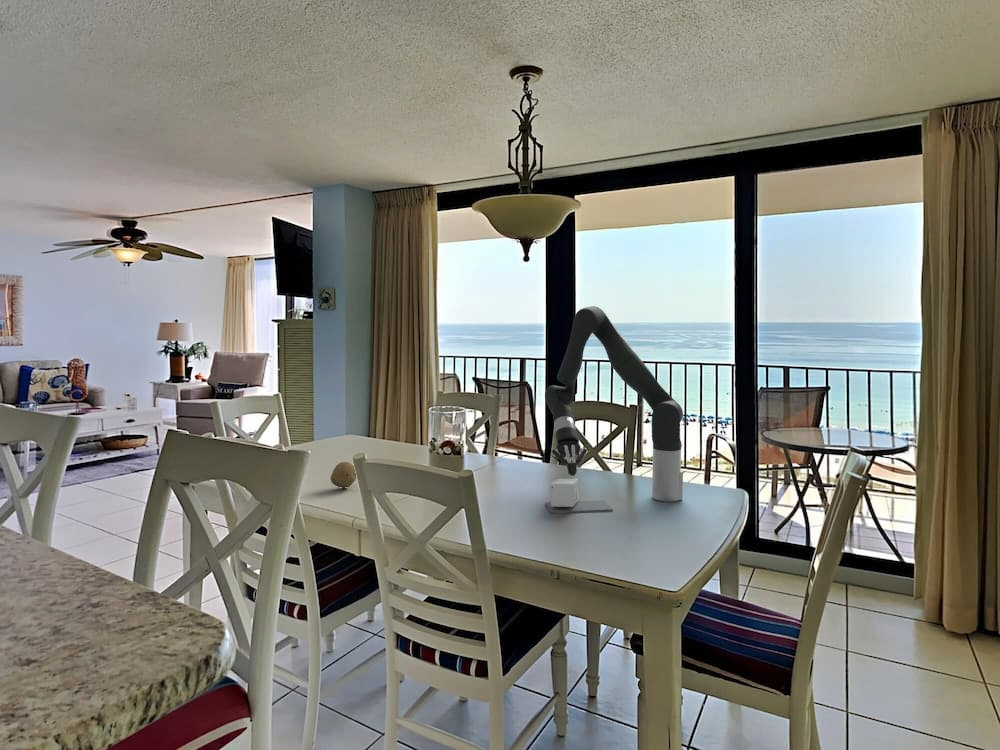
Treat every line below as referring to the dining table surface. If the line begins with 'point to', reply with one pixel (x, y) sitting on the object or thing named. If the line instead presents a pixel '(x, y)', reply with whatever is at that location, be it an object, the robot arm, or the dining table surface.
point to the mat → (581, 507)
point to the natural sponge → (343, 475)
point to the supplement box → (564, 492)
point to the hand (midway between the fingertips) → (573, 474)
